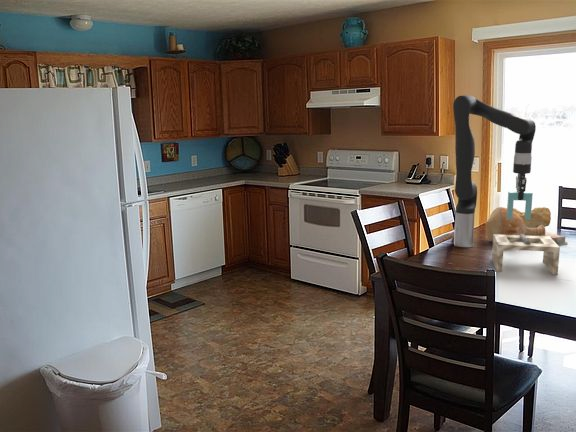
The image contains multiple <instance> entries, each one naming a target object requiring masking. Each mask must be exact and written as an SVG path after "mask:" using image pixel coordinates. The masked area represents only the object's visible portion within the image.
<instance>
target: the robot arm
mask: <svg viewBox="0 0 576 432" xmlns="http://www.w3.org/2000/svg"><path fill="white" fill-rule="evenodd" d="M452 108H453V109H452V111H453V118H454V119H453V120H454V133H455V134H454V135H455V143H454V144H455V146H454V147H455V149H454V150H455V167H456V168H455V169H456V172H455V173H456V174H455V184H454V193H455V195H456V198H457V199H458V200H457V204H456V207H455V220H454V233H453V234H454V236H453V244H454V245H453V246H454V247H459V248H471V247H473V246H474V234H475V232H474V231H475V217H476V216H475V213H476V207H477V201H478V186H477V185H476V182H474V181H472V179H473V178H472V171H473V166H474V161H475V156H476V155H475V153H476V143H475V137H474V134H473V132H472V130H471V127H470V115H475V116H477V117H478V116H479V117H482V118H485V119H486V120H487V121H489V122H490V123H492V124H494V125H497V126H499V127H502V128H505V129H508V130H510V131H511V132H513V133H516V134H517V135H519V137H518V139H517V140H516V141H515V146H514V147H515V148H514V156H513V164H512V165H513V168H512V172H513V173H514V174H517V175H516V177H515V189H516V190H515V191H516V192H518V200H517V201H524V200H523V196H524V192H526V187H527V177H526V175H528V174H530V173H531V171H532V169H531V168H532V150H533V141H534V137H535V134H536V122H535V121H534V120H533V119H531V118H521V117H519V116H516V115H515V114H514V113H512V112H508V111H506V110H503V109H500V108H497V107H494V106H492V105H489V104H486V103H485V102H483V101H481V100H480V99H478V98H476V97H474V96H473V95H467V94H466V95H465V94H463V95H459V96H456V97H455V99H454V100H453V105H452Z"/></svg>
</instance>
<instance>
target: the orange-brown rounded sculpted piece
mask: <svg viewBox="0 0 576 432" xmlns="http://www.w3.org/2000/svg"><path fill="white" fill-rule="evenodd" d="M484 225H485V228H486V229H485V230H486V237H487V239H488V241H489V242H491V243H493V234H499V235H521V234H524V235H525V236H545V232H546V227H544V226H543V225H540V226H538V227H537V228H529V227H526V226H525V223H524V218H523V217H522V218H521V217H520V216H519V215H518V214H517V213H515V212H514V211H513V217H512V219H507V207H502V206H497V207H496V208H494V209H493V210H492V212H491V213H490V215H489V216H488V219H487V220H486V221H485V222H484ZM512 243H514V242H512Z"/></svg>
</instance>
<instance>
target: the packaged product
mask: <svg viewBox="0 0 576 432" xmlns="http://www.w3.org/2000/svg"><path fill="white" fill-rule="evenodd" d="M545 236H550V237H551V238H552V239H553V241H554V242H555V243H556V244H557V245H558V246H564V245H568V241H566V236H563V235H559V234H556V233H551V232H547V231H545Z"/></svg>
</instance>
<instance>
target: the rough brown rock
mask: <svg viewBox="0 0 576 432" xmlns="http://www.w3.org/2000/svg"><path fill="white" fill-rule="evenodd" d="M513 211H514V212H515V213H517V214H518V215H519V216H520V217H521V218H522V217H523V218H524V223H525V226H526V227H529V228H537V227H538V226H540V225H543V226H544V227H545V228H546V227H550V224H551V220H552V219H551V218H552V215H551V214H552V213H551V210H550V208H548V207H546V206H543V207H534V208H533V209H531V220H526V219H525V211H520V210H518V209H517V208H515V207H513Z"/></svg>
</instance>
